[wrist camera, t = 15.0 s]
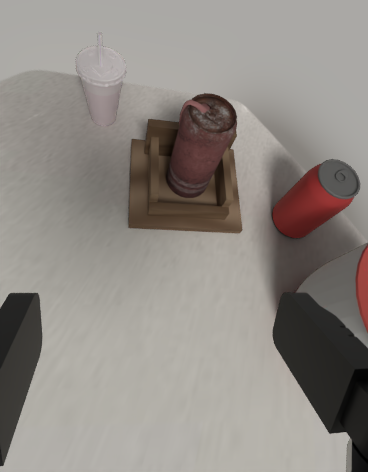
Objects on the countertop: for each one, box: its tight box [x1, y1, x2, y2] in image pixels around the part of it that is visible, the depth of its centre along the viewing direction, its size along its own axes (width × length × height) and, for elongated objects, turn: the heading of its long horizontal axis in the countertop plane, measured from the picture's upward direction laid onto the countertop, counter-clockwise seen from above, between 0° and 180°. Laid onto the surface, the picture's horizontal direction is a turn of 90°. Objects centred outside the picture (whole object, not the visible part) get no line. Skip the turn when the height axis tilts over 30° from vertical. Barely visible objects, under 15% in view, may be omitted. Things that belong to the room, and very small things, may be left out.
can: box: [166, 93, 237, 198], centre depth 40 cm, size 6×6×14 cm
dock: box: [129, 119, 242, 233], centre depth 44 cm, size 14×16×7 cm
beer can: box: [272, 159, 360, 238], centre depth 44 cm, size 7×7×12 cm
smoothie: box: [76, 32, 126, 126], centre depth 43 cm, size 6×6×14 cm
